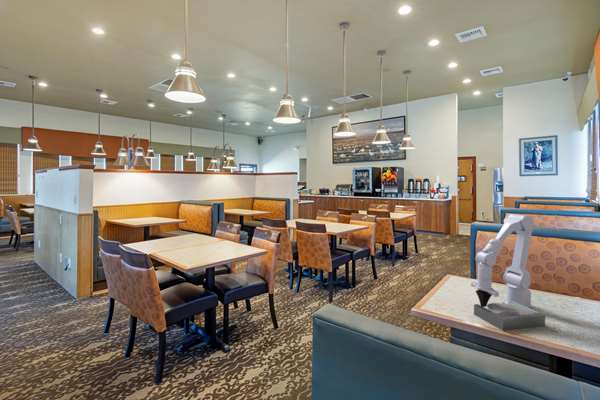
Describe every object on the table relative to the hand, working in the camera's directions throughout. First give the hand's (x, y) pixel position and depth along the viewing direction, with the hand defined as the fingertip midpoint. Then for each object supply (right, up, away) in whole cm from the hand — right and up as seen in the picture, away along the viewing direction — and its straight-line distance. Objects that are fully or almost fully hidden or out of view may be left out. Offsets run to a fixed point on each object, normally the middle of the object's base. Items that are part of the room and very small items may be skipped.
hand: (483, 306), depth 143 cm
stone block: (+5, -2, -6) cm, 8 cm away
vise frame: (+4, -2, -11) cm, 12 cm away
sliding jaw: (+13, -2, -8) cm, 15 cm away
